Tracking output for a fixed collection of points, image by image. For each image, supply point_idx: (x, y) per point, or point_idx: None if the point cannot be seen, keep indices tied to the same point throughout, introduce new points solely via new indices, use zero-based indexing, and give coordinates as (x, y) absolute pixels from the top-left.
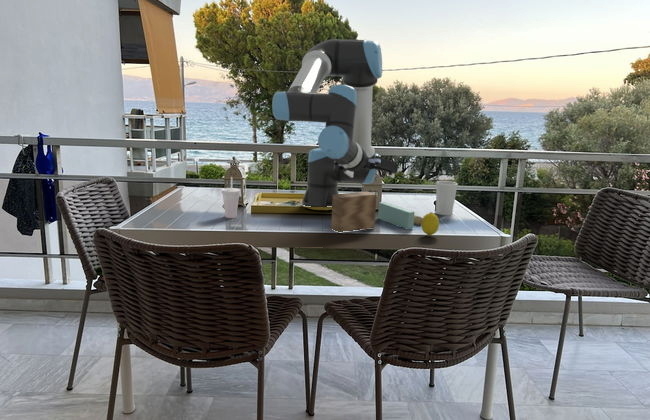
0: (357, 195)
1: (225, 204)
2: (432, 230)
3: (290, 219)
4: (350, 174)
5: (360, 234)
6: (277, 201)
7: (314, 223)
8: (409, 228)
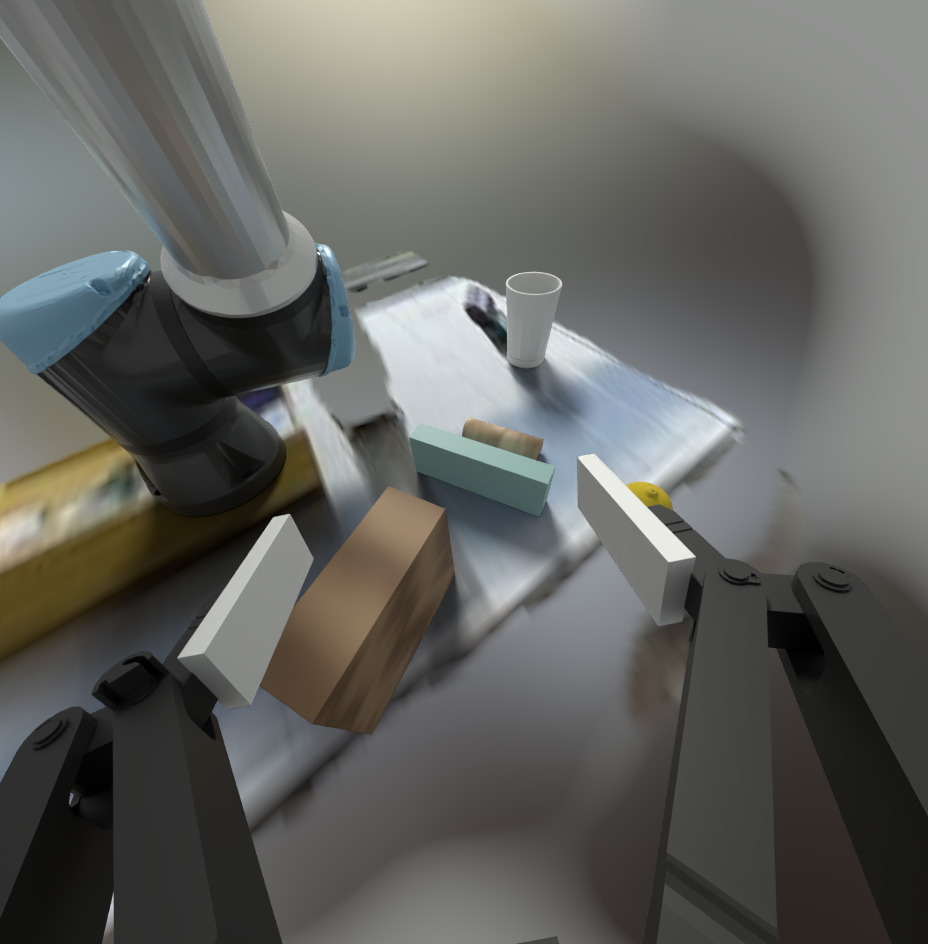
0: (378, 592)
1: None
2: None
3: None
4: (290, 598)
5: (445, 675)
6: (68, 493)
7: None
8: (542, 509)
